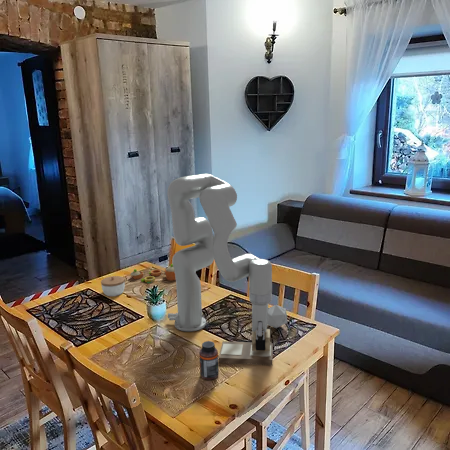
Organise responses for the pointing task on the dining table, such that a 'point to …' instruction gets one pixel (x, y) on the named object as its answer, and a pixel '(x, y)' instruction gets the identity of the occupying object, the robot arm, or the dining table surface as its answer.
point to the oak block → (267, 341)
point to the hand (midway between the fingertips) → (260, 344)
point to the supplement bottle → (208, 361)
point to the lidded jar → (113, 285)
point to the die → (276, 316)
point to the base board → (244, 354)
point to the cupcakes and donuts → (154, 274)
